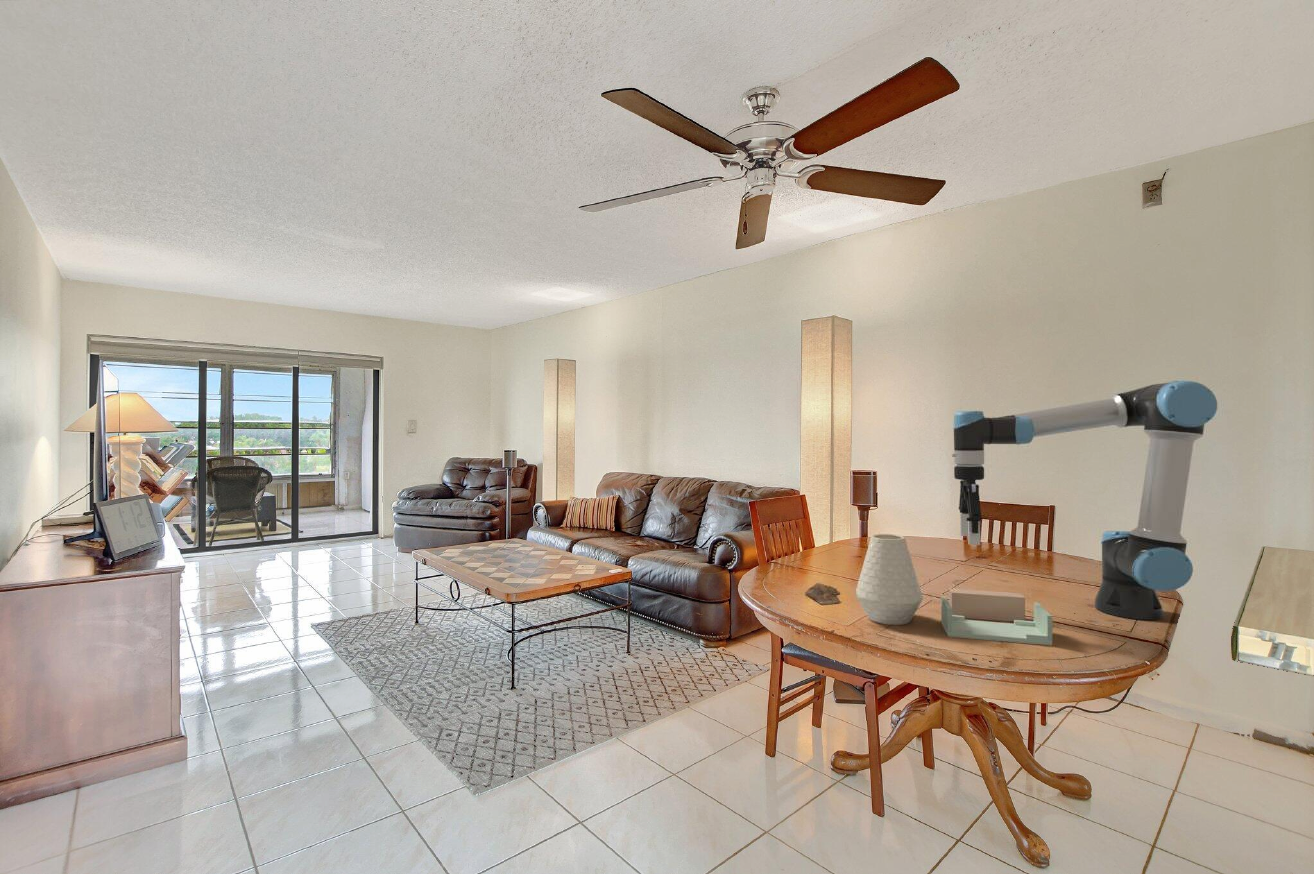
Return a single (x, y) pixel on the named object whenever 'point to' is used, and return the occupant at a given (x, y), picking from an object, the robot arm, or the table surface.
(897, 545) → the vase
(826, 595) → the wooden fragment
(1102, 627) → the table surface
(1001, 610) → the pinkish tan rectangular block
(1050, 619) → the tray
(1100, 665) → the table surface
